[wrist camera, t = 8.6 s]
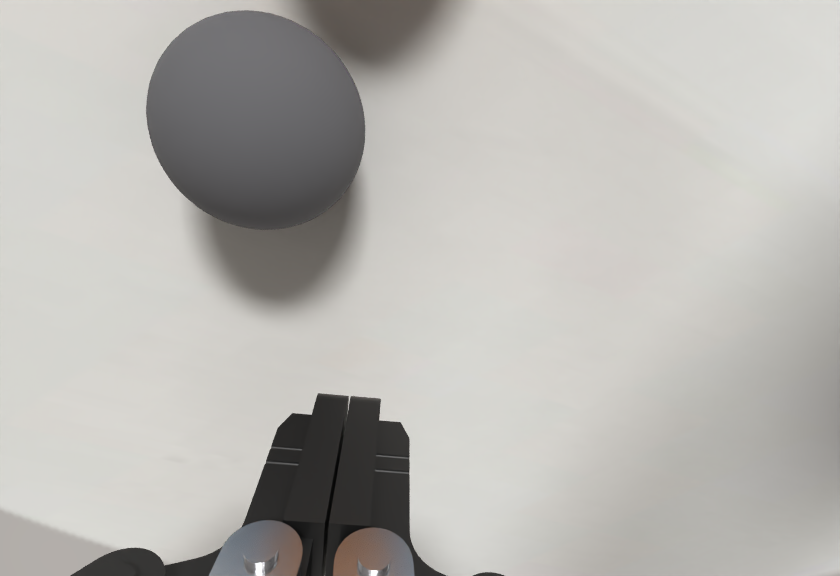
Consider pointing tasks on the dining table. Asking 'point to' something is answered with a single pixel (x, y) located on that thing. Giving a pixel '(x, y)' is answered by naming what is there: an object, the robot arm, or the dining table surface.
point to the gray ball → (255, 120)
